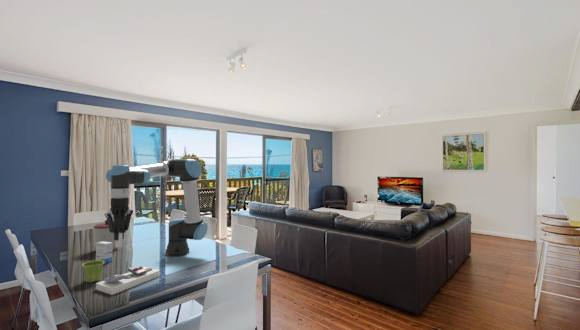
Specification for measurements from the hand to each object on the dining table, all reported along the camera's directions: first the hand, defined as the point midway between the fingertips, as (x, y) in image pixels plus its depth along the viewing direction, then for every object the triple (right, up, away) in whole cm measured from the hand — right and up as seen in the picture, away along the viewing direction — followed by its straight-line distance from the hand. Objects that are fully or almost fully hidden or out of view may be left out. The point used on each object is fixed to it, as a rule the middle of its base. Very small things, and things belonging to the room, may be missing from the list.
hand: (118, 246), depth 136 cm
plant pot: (-19, -20, +10) cm, 30 cm away
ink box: (-32, -21, +38) cm, 54 cm away
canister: (-46, -21, +63) cm, 81 cm away
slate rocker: (-2, -17, +1) cm, 17 cm away
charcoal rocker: (+2, -17, +12) cm, 21 cm away
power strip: (+1, -21, +8) cm, 22 cm away
